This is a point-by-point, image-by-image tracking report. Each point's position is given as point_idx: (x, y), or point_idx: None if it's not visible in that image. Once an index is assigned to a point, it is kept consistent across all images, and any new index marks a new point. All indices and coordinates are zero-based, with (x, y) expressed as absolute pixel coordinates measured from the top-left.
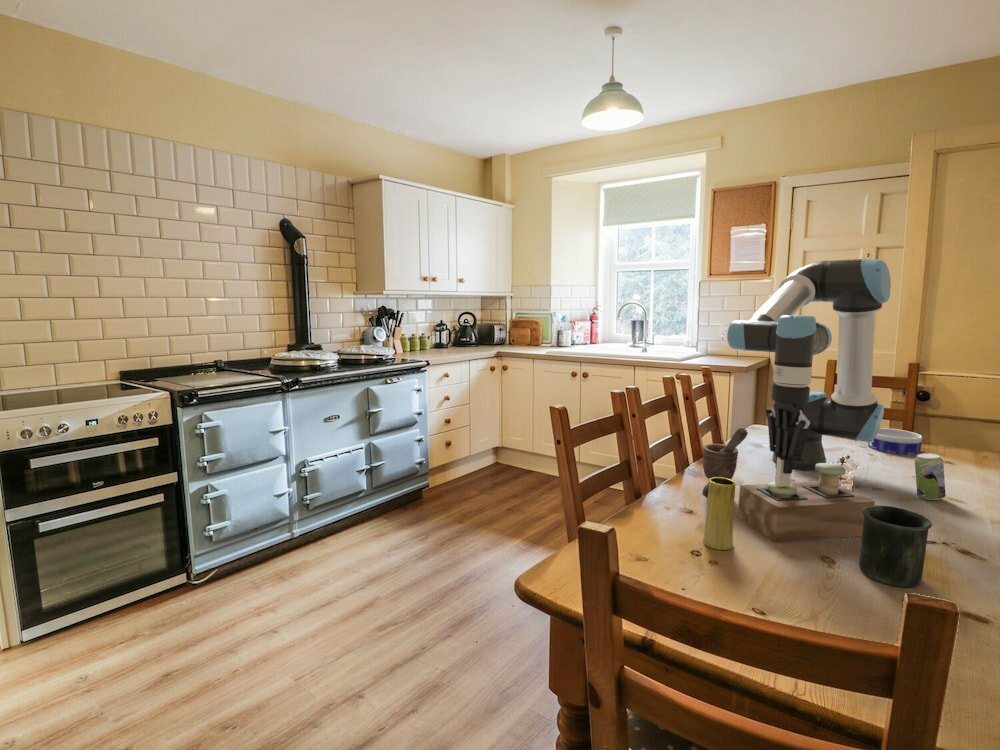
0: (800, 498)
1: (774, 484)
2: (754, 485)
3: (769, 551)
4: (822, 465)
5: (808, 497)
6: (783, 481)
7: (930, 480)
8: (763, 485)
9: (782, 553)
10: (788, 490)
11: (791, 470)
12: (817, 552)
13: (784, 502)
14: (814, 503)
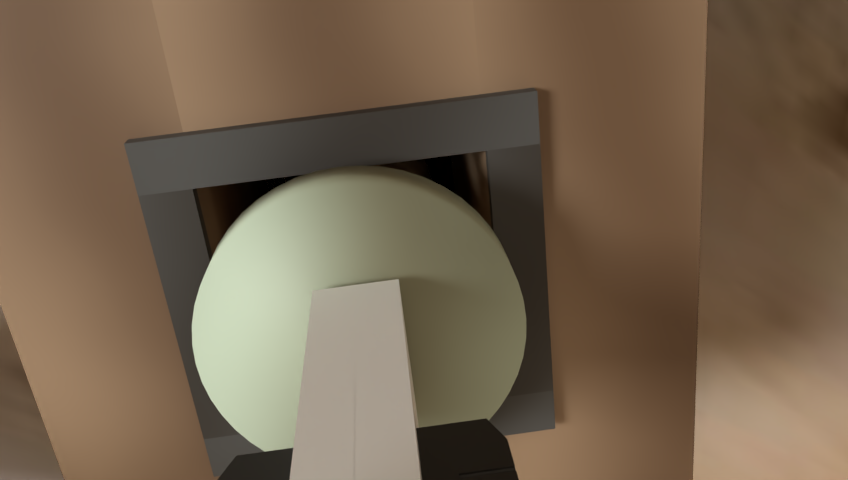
0: (539, 184)
1: (292, 397)
2: (84, 442)
3: (704, 402)
4: None
5: (472, 37)
6: (414, 402)
7: None
8: (71, 354)
9: (741, 345)
10: (509, 341)
11: (511, 464)
12: (776, 124)
13: (593, 377)
14: (661, 83)
